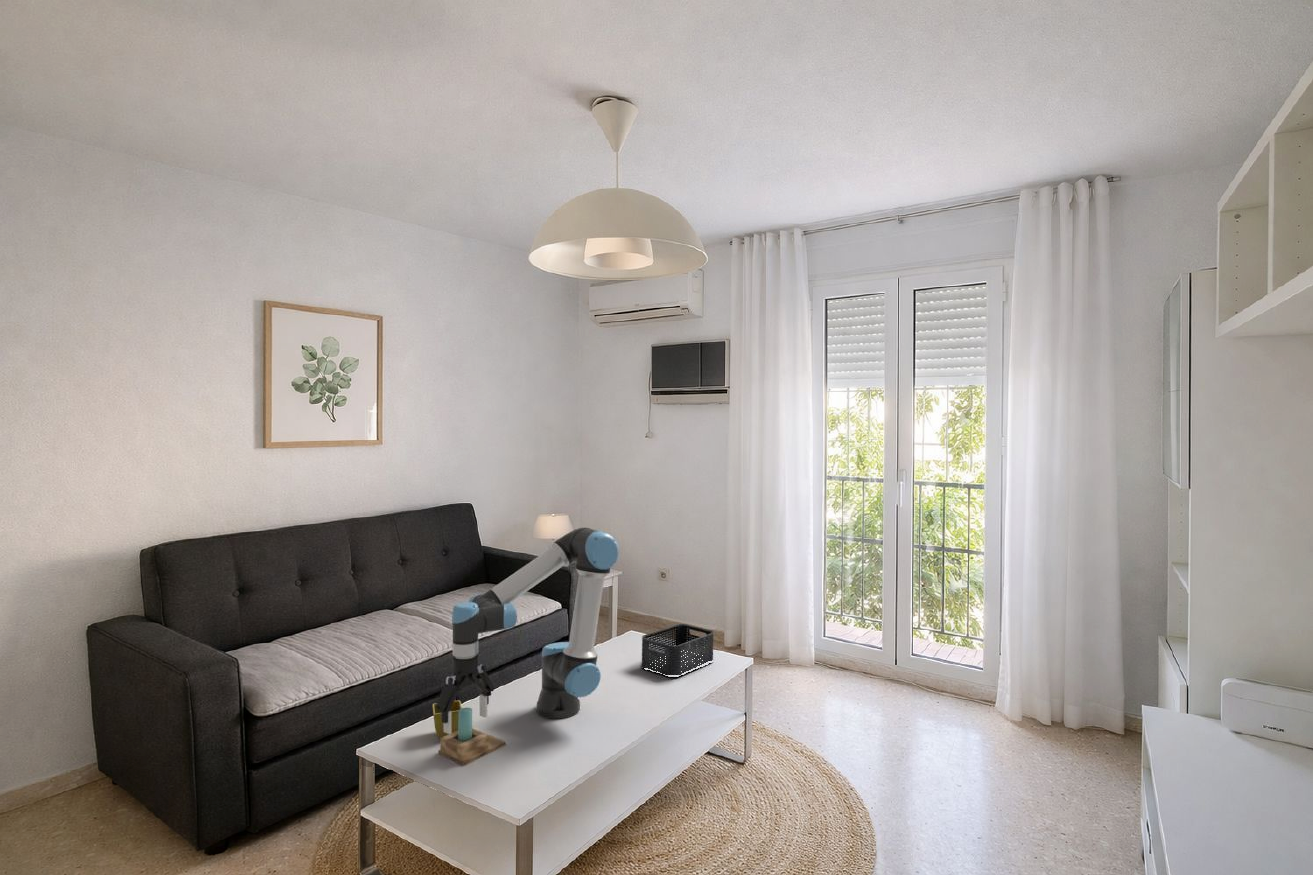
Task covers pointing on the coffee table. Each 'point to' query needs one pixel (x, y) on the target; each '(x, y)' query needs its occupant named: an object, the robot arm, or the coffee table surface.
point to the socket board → (468, 746)
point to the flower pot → (454, 719)
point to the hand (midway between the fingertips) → (465, 724)
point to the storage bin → (676, 649)
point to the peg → (465, 724)
